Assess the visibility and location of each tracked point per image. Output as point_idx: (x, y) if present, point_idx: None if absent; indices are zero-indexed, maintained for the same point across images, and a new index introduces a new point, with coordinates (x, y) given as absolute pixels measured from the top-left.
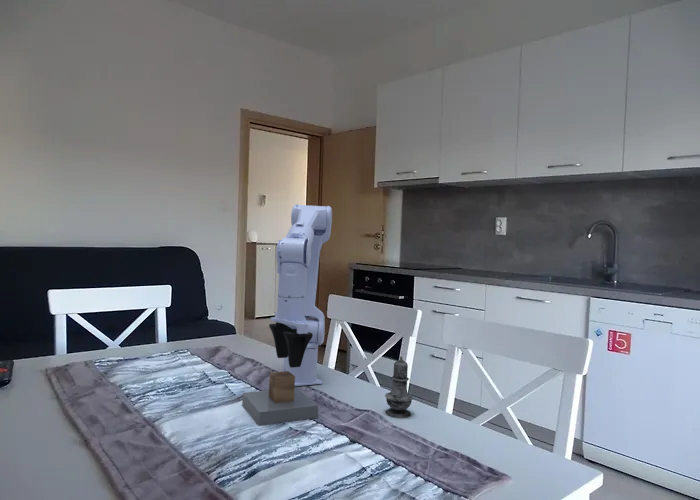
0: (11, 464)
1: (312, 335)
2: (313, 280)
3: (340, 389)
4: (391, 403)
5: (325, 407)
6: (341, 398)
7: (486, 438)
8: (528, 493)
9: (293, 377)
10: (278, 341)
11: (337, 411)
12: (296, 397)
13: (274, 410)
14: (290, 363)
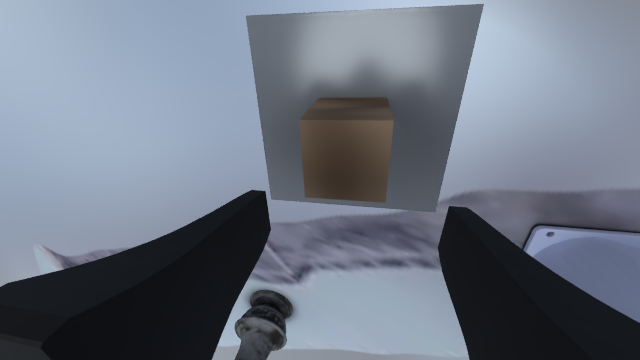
0: None
1: None
2: None
3: (440, 302)
4: (251, 311)
5: (339, 225)
6: (381, 276)
7: None
8: (42, 271)
9: (305, 189)
10: (496, 285)
11: (308, 233)
12: None
13: (254, 72)
14: (238, 197)
